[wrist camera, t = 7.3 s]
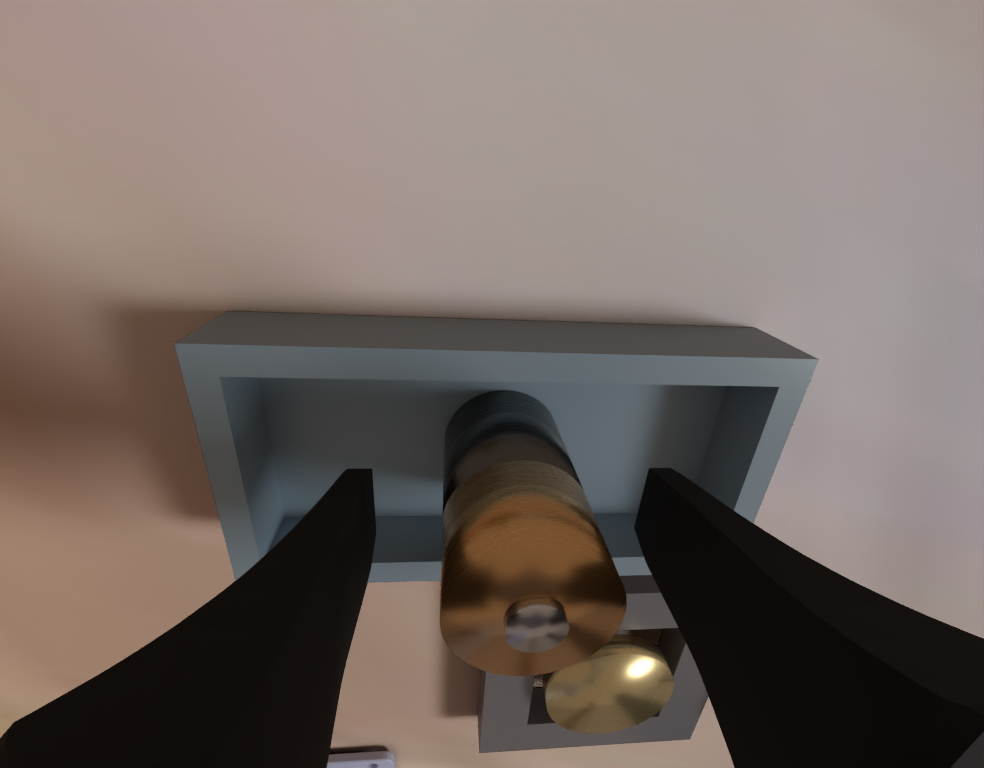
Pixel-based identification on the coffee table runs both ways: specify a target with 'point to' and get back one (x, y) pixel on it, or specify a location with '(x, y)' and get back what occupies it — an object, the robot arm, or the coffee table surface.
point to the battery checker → (527, 725)
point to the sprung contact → (610, 687)
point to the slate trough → (451, 383)
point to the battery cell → (520, 544)
